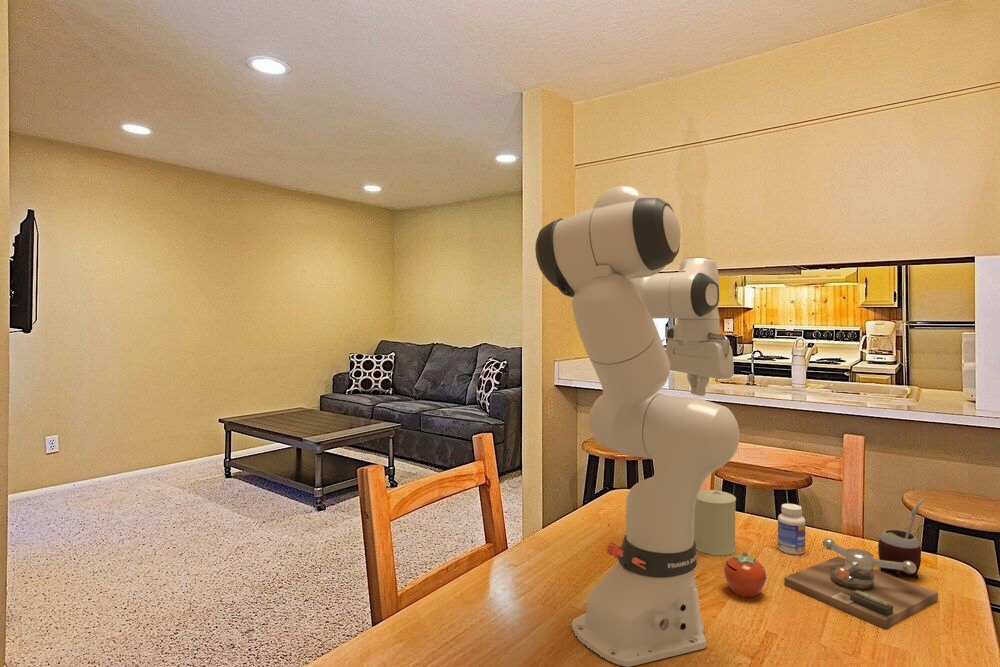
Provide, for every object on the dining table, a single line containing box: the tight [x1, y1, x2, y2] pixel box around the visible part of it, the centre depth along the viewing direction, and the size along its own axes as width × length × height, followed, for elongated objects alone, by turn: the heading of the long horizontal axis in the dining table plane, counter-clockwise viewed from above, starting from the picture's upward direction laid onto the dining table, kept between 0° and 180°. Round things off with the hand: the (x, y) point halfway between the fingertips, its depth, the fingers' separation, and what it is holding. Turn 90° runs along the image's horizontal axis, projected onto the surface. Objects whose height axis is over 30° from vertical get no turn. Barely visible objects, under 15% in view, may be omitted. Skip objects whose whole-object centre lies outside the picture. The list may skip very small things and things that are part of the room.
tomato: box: [723, 550, 767, 599], centre depth 109 cm, size 7×7×8 cm
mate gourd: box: [877, 497, 926, 579], centre depth 116 cm, size 8×8×15 cm
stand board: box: [783, 555, 939, 630], centre depth 108 cm, size 18×18×4 cm
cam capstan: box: [822, 537, 916, 590], centre depth 107 cm, size 16×14×6 cm
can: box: [694, 489, 737, 557], centre depth 129 cm, size 9×9×12 cm
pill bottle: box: [777, 503, 806, 556], centre depth 127 cm, size 5×5×10 cm
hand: (698, 394), depth 128 cm, fingers closed
